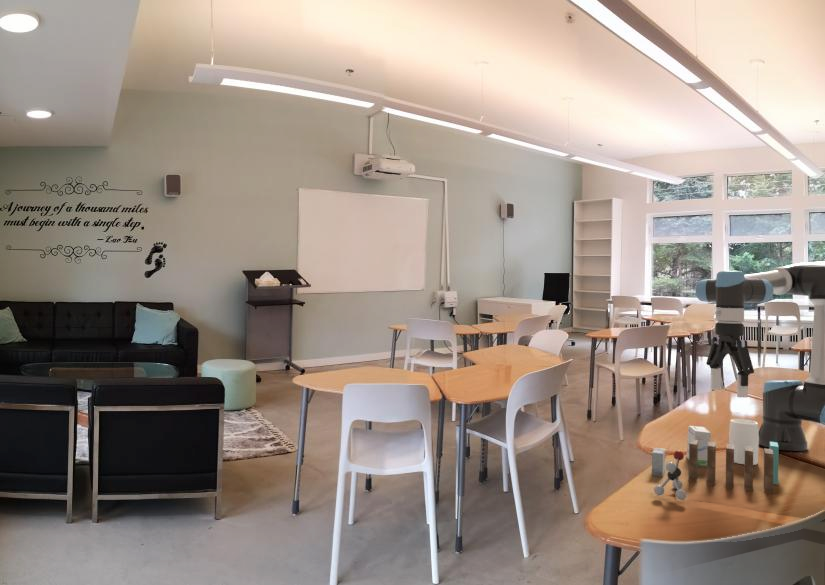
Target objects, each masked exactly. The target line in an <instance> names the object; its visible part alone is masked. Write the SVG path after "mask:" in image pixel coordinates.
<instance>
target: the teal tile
mask: <svg viewBox="0 0 825 585" xmlns="http://www.w3.org/2000/svg"><path fill="white" fill-rule="evenodd" d="M768 449H772V450H773V454H774V455H773V485H777V484H778V485H779V453H780V452H779V450H780V449H779V446H778V443H777V442H770V445H769V447H768Z"/></svg>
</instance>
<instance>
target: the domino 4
mask: <svg viewBox="0 0 825 585" xmlns="http://www.w3.org/2000/svg"><path fill="white" fill-rule="evenodd" d="M743 476H744V480H743V481H744V484H743V485H744V486H743V487H744V490H745V491H746V490H747V491H751V492H752V491H754V490H753V489H754V465H753V447H749V446H745V465H744V475H743Z"/></svg>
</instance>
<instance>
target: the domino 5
mask: <svg viewBox="0 0 825 585" xmlns="http://www.w3.org/2000/svg"><path fill="white" fill-rule="evenodd" d="M773 455H774V454H773V450H772V449H769V448H766V447H764V449H763V491H764V493H766V494H770V495H771V494H774V484H773Z"/></svg>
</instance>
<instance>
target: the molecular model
mask: <svg viewBox="0 0 825 585" xmlns="http://www.w3.org/2000/svg"><path fill="white" fill-rule="evenodd" d="M684 456H685V455H684V453H683V452H682V451H681V450H675V451H674V452H673V459H675V460H676V461H675V462H673V461H668V462H667V463H665V471H667V475H666V476H667V477H666V478H665V480H664V481H663V482H662V483H661V485H660V484H657V485H655V486H654V487H653V492H654V494H655V495H656V496H662V495H664V493H665V488H664V487H665V486H666V485H667V483H669V481H672V482H671V483H672V484H671V485H672V488H673V489H675V497H676V498H677V499H678V500H680V501H684V500H686V498H687V493H686V491H685V490H684V489H682V488H683V486H684V485H683V482H682V481H681V480H680V479H679V477H680V476H681V475H682V470H681V468H679V464H680V461H682V460H683V459H684V458H685V457H684Z"/></svg>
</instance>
